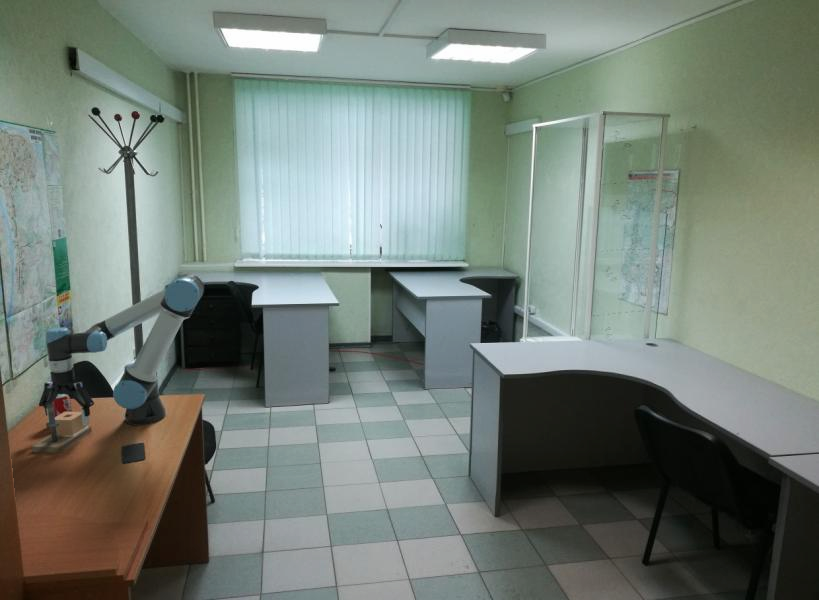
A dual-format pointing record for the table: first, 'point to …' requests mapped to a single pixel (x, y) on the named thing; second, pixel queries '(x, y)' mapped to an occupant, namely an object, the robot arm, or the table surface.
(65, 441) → the stand
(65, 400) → the soda can
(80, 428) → the collar
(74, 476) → the table surface
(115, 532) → the table surface
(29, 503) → the table surface
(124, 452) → the phone
